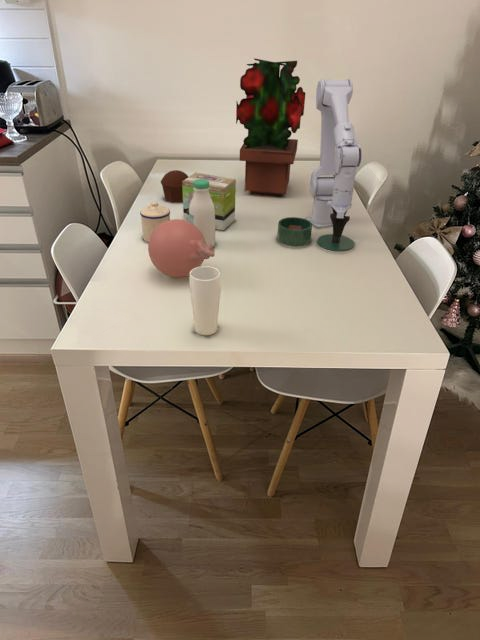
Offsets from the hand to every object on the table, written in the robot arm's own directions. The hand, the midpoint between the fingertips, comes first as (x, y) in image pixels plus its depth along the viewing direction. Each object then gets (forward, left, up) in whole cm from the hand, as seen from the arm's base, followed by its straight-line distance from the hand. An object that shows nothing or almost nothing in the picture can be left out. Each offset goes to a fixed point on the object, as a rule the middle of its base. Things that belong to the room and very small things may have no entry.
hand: (337, 231), depth 151 cm
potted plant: (-1, -52, -5) cm, 52 cm away
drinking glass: (+53, +29, -5) cm, 60 cm away
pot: (+11, -7, -4) cm, 14 cm away
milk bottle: (+39, -14, -5) cm, 42 cm away
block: (+11, -7, -4) cm, 14 cm away
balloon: (+50, +3, -5) cm, 50 cm away
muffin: (+35, -55, -5) cm, 65 cm away
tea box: (+31, -30, -5) cm, 43 cm away
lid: (0, 0, -4) cm, 4 cm away
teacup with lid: (+50, -25, -5) cm, 56 cm away
